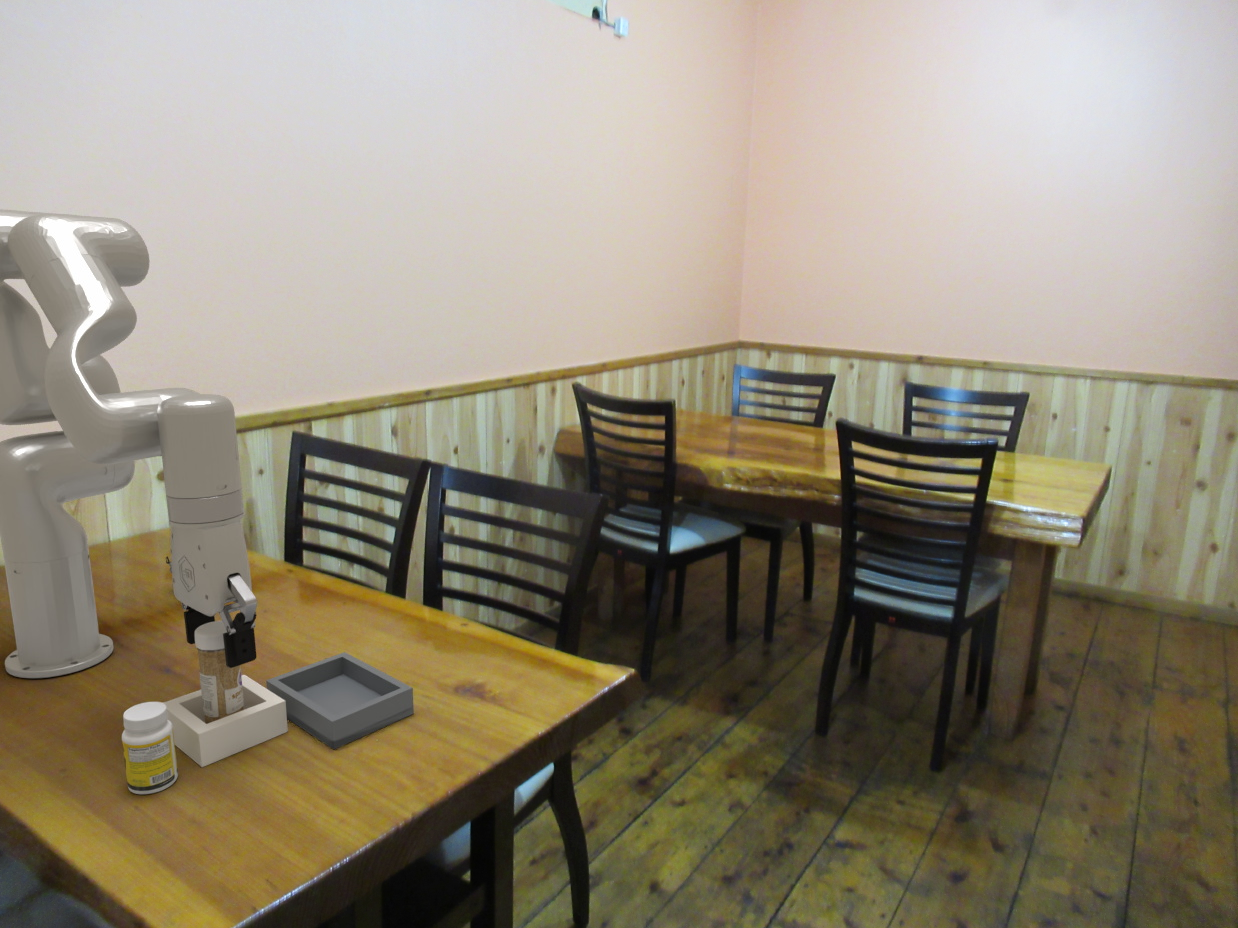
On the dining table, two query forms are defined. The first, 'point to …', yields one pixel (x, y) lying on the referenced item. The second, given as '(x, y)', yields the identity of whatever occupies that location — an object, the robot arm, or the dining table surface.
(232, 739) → the frame
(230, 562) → the robot arm
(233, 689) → the sprinkles bottle
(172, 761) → the supplement bottle
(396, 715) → the charcoal tray
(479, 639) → the dining table surface
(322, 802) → the dining table surface
